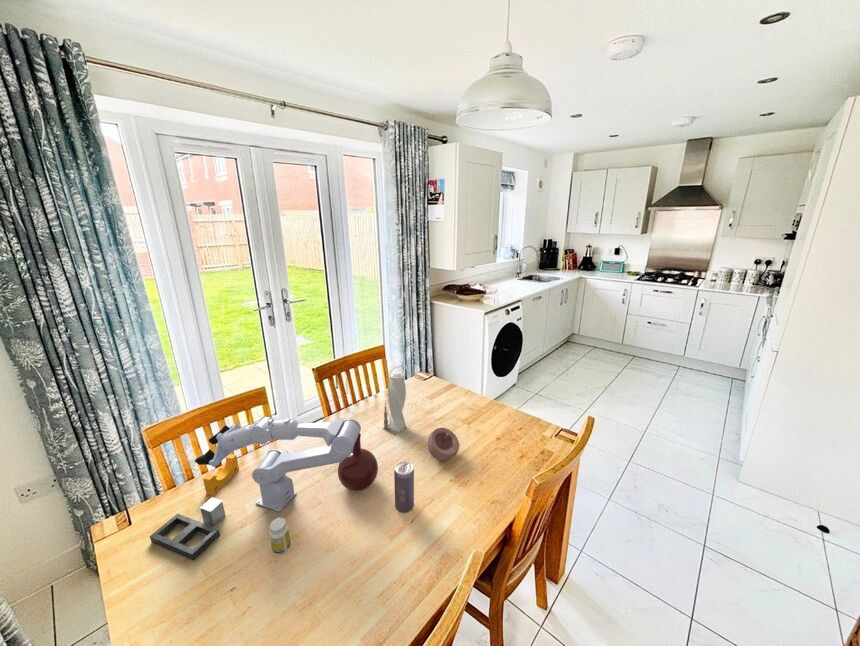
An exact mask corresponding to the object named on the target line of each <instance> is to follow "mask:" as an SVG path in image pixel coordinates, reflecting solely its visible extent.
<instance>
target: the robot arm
mask: <svg viewBox="0 0 860 646" xmlns="http://www.w3.org/2000/svg"><path fill="white" fill-rule="evenodd" d="M361 429H362V427H361V424H360V423H359V422H358V421H357V420H356V419H353V418H346V419H345V418H337V419H335V420H332V421H324V422H322V421H321V422H308V423H307V422H306V423H299V421H297V420H296V419H290V418H285V419H275V418H273V417H270V416H268V417H267V416H266V415H264V416H262V417H260V419H259V420H258V421H257V422H255V423H252V424H249V425H245V426H244V427H241V426H240V425H239V424H238V423H233V424H232V425H230V426H228V425H223V426H222V428H221V429H220V430H219V431H218V432H217V433H216V434H214V435H213V436H211V437H210V438H209V439H208V440H207V441H208V442H209V443H210V444H211V445H212V446H213V445H216V447H215V452H214V451H213V450H212V449H210V448H209V449H208V450H207V451H206V452H205V453H204V454H202V455H201V456H198V457H196V458H195V460H194V462H195V464H197V465H198V466H201V465H203V466H204V465H205V466H206V465H208V466H211V467H213V468H214V467H215V468H218V467H219V466H221V465H222V461H223V460H225V459H226V457H227V456H228V455H229V454H232V453H233V452H235V451H238V450H240V449H243V448H246V447H249V446H251V445H254V444H259V445H265V444H267V443H268V442H271V441H273V440H274V441H276V440H278V441H294V440H295V439H297V437H310V438H321V439H323V440H324V442H325V444H326V445H324V446H318V447H313V448H308V449H303V450H298V451H292V452H288V450H287V449H277V448H273V449H270V450H268V452H267V453H266V454H265V456H264V457H263V459H261V461H260V462H259V464H258V465H257V466H256V468H255V469H254V470H252V473H251V477H252V480H253V481H254V482H255V484H258V486H259V490H260V496H261V497H259V499H257V500H256V501H255V504H256V505H258V506H261V507H264V508H267V509H271V510H273V511H276V512H281V511H282V510H283V509H284V508H285V507H286V506H287V505H288V503H289V502H290V501H291V500H292V499H293V497H295V495H296V494H297V492H296V491H295V487H294V483H293V479H292V478H291V477H289V476H287V475H286V474H288V473H290V472H291V473H292V472H296V471H302V470H306V469H307V470H308V469H311V468H312V469H313V468H318V467H323V466H329V465H334V464H339V463H340V462H342V461H343V460H344V459H345V458H346V457H348V456H350V455H351V453H352V450H353V447H354V444H355V442H356V440H357V438H358V436H359V433H360V434H361Z"/></svg>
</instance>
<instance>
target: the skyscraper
mask: <svg viewBox="0 0 860 646" xmlns="http://www.w3.org/2000/svg"><path fill="white" fill-rule="evenodd" d="M397 368H402V369H401V371H399V370H398V371H397V370H395V369H397ZM404 369H405V366H401V365H399V366H395V367H393V368H391V370H390V371H389V375H388V382H387V383H388V384H387V399H388V406H389V410H390V411H389V412H390V418H389V419H388V413H389V412H388V411H387V406H386V405H387V403H386V402H384V405H385V406H384V411H383V416H384V417H383V425H384V426H383V428H382V430H384V429H385V431H386V430H387V431H386V432H388V431H389V432H388V433H390V432H391V433H390V434H392V433H393V435H394V434H395V435H394V436H396V435H398V434H399V433H400V432H402V431H403V430H404V429H405V427H406V428H407V424H406V421H405V418H404V413H403V409H404V406H405V404H406V403H405V402H406V399H407V397H406V396H407V390H406V389H407V388H406V382H405V377H404V373H403V371H404ZM394 370H395V371H394ZM403 428H404V429H403ZM402 429H403V430H402ZM401 430H402V431H401ZM399 431H400V432H399ZM398 432H399V433H398ZM397 433H398V434H397Z"/></svg>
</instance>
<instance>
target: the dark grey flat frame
mask: <svg viewBox="0 0 860 646" xmlns="http://www.w3.org/2000/svg"><path fill="white" fill-rule="evenodd" d="M177 526H182V527H184V528H183V529H182V530H181V531H180V532H179V533H177V534H176V535H175V536H174V537H173V538H172V539H171V538H169V537H166V535H168V533H170V532H171V531H172V530H173V529H175V527H177ZM198 533H200V534H203V535H205V537H204V538H203V539H202V540H200V541H199V542H198V543H197V544H196V545H195V547H193V548H192V547H190V546H187V545H186V544H187V543H188V542H190V541H191V540H192V539H193V538H194V537H196V536H197V534H198ZM220 536H221V534H220V530H219V528H216V527H212V526H210V525H207V524H204V522H201V521H198V520H196V519H192V518H191V517H188V516H185V515H183V514H180V513H177V514H175V515H174V516H172V518H170V519H169V520H168V521H166V522H165V523H164V524H163V525H162V526H160V527H159V528H158V529H156V531H154V532H152V534H150V535H149V539H150V543H151V544H154V545H156V546H158V547H160V548H162V549H165V550H167V551H170V552H171V553H175V554H176V555H179V556H181V557H184V558H186V559H188V560H191V561H193V562H194V561H196V560H197V559H198V558H199V556H201V555H202V554H203V553H204V552H205V551H206V550H207V549H208V548H209V547H210V546H211V545H212V544H213V543H214V542H215V541H216V540H217V539H218V538H219V537H220Z"/></svg>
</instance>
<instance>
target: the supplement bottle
mask: <svg viewBox="0 0 860 646" xmlns="http://www.w3.org/2000/svg"><path fill="white" fill-rule="evenodd" d="M289 529H290V528H289V525H288V523H287V522H286V519H285V518H283V517H277V518H275V519H273V520H272V521H271V523H270V524H269V538H270V544H271V550H272V552H273V554H275V555H282V554H284V553H286V552H287V551H288V550H289V549H290V547H291V545H292V544H291V542H292V541H291V536H290V530H289Z"/></svg>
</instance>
